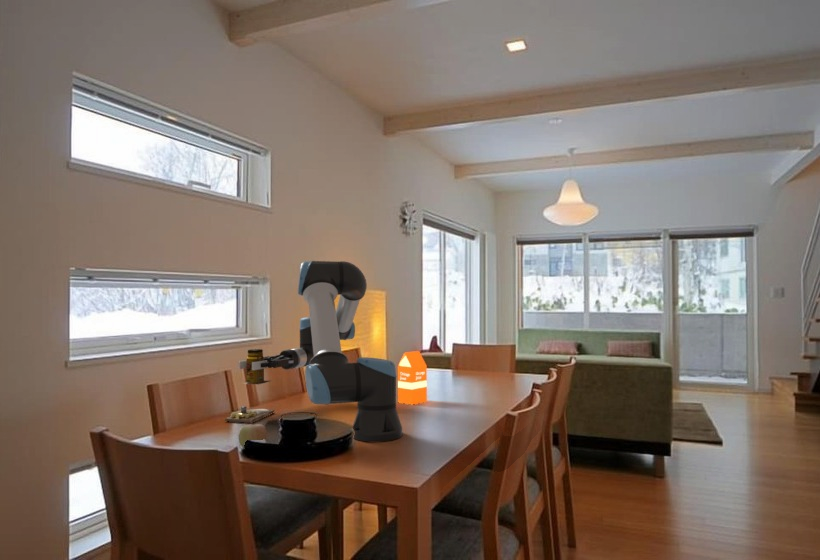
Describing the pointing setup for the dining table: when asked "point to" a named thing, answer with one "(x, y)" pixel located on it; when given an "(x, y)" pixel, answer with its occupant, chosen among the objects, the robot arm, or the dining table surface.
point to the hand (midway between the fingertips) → (246, 365)
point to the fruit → (252, 433)
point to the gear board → (260, 414)
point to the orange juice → (412, 379)
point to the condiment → (255, 375)
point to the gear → (244, 413)
